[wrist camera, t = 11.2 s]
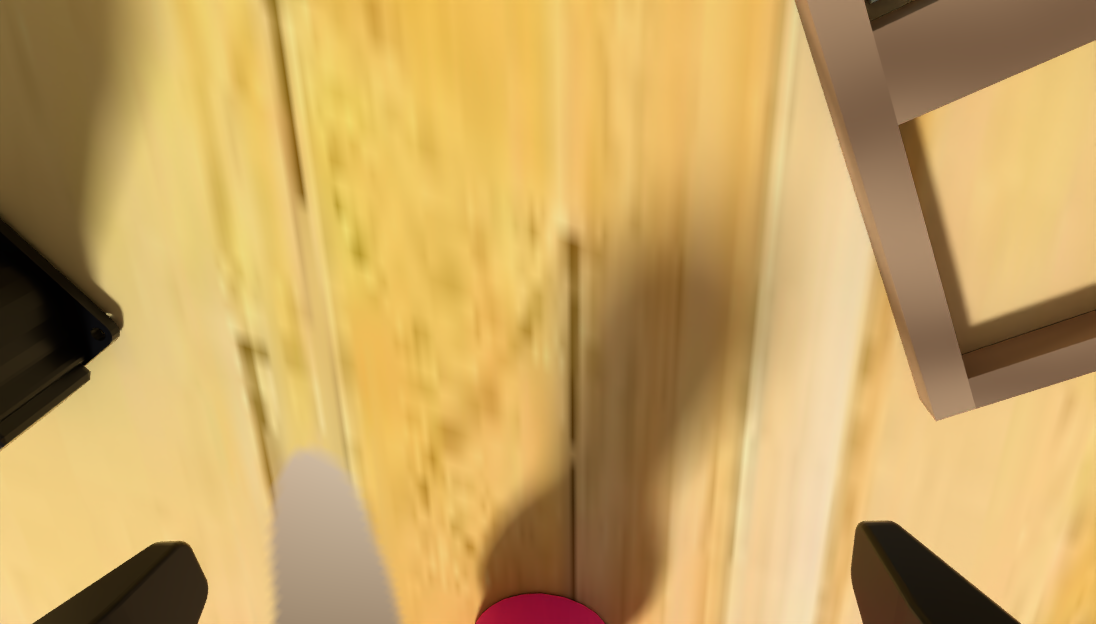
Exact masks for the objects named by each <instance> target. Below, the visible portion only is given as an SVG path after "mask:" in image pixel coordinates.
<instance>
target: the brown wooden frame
mask: <svg viewBox="0 0 1096 624" xmlns="http://www.w3.org/2000/svg"><path fill="white" fill-rule="evenodd" d="M868 1H869V3H873V2H875V1H878V0H868ZM795 3H796V6H797V9H798V12H799V15H800V18H801V22H802V25H803V28H804V31H805V34H806V38H807V41H808V44H809V47H810V50H811V54H812V57H813V60H814V63H815V66H816V70H817V73H818V76H819V79H820V82H821V85H822V89H823V92H824V95H825V98H826V101H827V105H828V108H829V111H830V114H831V117H832V121H833V124H834V127H835V130H836V133H837V136H838V140H839V143H840V146H841V149H842V152H843V156H844V159H845V162H846V165H847V168H848V172H849V175H850V178H851V181H852V184H853V187H854V191H855V194H856V197H857V200H858V203H859V207H860V210H861V213H862V216H863V219H864V223H865V226H866V229H867V232H868V235H869V238H870V242H871V245H872V248H873V251H874V254H875V258H876V261H877V264H878V267H879V270H880V274H881V277H882V280H883V283H884V286H885V290H886V293H887V296H888V299H889V302H890V305H891V309H892V312H893V315H894V318H895V321H896V325H897V328H898V331H899V334H900V337H901V341H902V344H903V347H904V350H905V353H906V356H907V360H908V363H909V366H910V369H911V372H912V376H913V379H914V382H915V385H916V388H917V392H918V395H919V398H920V400H921V402H922V403H923V404H924V406H925V407H926V408H927V410H928V411H929V412H930V414H931V415H932V416H933V418H934V419H935V420H936V421H938V420H941V419H945V418H948V417H951V416H954V415H957V414H961V413H964V412H967V411H970V410H973V409H977V408H980V407H983V406H986V405H989V404H993V403H996V402H999V401H1002V400H1005V399H1009V398H1012V397H1015V396H1018V395H1021V394H1025V393H1028V392H1031V391H1034V390H1037V389H1041V388H1044V387H1047V386H1050V385H1053V384H1056V383H1060V382H1063V381H1066V380H1069V379H1072V378H1076V377H1079V376H1082V375H1085V374H1088V373H1092V372H1095V371H1096V310H1095V311H1092V312H1089V313H1086V314H1083V315H1080V316H1077V317H1074V318H1071V319H1068V320H1065V321H1062V322H1059V323H1056V324H1053V325H1050V326H1047V327H1044V328H1041V329H1038V330H1035V331H1032V332H1029V333H1026V334H1023V335H1020V336H1017V337H1014V338H1011V339H1008V340H1005V341H1002V342H999V343H996V344H993V345H990V346H987V347H984V348H981V349H978V350H975V351H972V352H969V353H966V354H963V355H961V352H960V349H959V345H958V341H957V338H956V334H955V330H954V327H953V323H952V319H951V316H950V312H949V308H948V305H947V301H946V298H945V294H944V290H943V287H942V283H941V279H940V276H939V272H938V268H937V265H936V261H935V257H934V254H933V250H932V246H931V243H930V239H929V236H928V232H927V228H926V225H925V221H924V217H923V214H922V210H921V206H920V203H919V199H918V195H917V192H916V188H915V184H914V181H913V177H912V174H911V170H910V166H909V163H908V159H907V155H906V152H905V148H904V144H903V141H902V137H901V133H900V130H899V126H898V125H900V124H902V123H905V122H907V121H909V120H912V119H914V118H916V117H919V116H921V115H923V114H925V113H928V112H930V111H932V110H935V109H937V108H939V107H942V106H944V105H946V104H949V103H951V102H953V101H956V100H958V99H960V98H963V97H965V96H967V95H969V94H972V93H974V92H976V91H979V90H981V89H983V88H986V87H988V86H990V85H993V84H995V83H997V82H1000V81H1002V80H1004V79H1006V78H1009V77H1011V76H1013V75H1016V74H1018V73H1020V72H1023V71H1025V70H1027V69H1030V68H1032V67H1034V66H1037V65H1039V64H1041V63H1044V62H1046V61H1048V60H1050V59H1053V58H1055V57H1057V56H1060V55H1062V54H1064V53H1067V52H1069V51H1071V50H1074V49H1076V48H1078V47H1081V46H1083V45H1085V44H1087V43H1090V42H1092V41H1094V40H1096V0H915V1H913V2H911V3H908V4H906V5H904V6H902V7H900V8H898V9H896V10H894V11H892V12H890V13H887V14H885V15H883V16H881V17H879V18H877V19H875V20H873V21H871V22H870V20H869V17H868V13H867V9H866V6H865V2H864V0H795Z"/></svg>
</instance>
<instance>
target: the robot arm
mask: <svg viewBox="0 0 1096 624" xmlns="http://www.w3.org/2000/svg"><path fill="white" fill-rule="evenodd" d="M99 329H101V330H102V331H103V332H104V333H105V334H103V333H101V331H100V330H99ZM119 336H120V330H119V328H118V326H117V325H116V323H115V322H114V321H113V320H112V319H111V318H109V317H108V316H107V315H106V314H105V313H104V312H103V311H102V310H101V309H100V308H98V307H97V306H96V305H95V304H94V303H93V302H92V301H91V300H90V299H89V298H87V297H86V296H85V295H84V294H83V293H82V292H81V291H80V290H79V289H77V288H76V287H75V286H74V285H73V284H72V283H71V282H70V281H69V280H68V279H66V278H65V277H64V276H63V275H62V274H61V273H60V272H59V271H58V270H57V269H55V268H54V267H53V266H52V265H51V264H50V263H49V262H48V261H47V260H45V259H44V258H43V257H42V256H41V255H40V254H39V253H38V252H37V251H36V250H34V249H33V248H32V247H31V246H30V245H29V244H28V243H27V242H26V241H25V240H23V239H22V238H21V237H20V236H19V235H18V234H17V233H16V232H15V231H13V230H12V229H11V228H10V227H9V226H8V225H7V224H6V223H5V222H4V221H2V220H1V219H0V451H1V450H2V449H4V448H5V447H6V446H8V445H9V444H10V443H11V442H13V441H14V440H15V439H16V438H18V437H19V436H20V435H22V434H23V433H24V432H25V431H27V430H28V429H29V428H31V427H32V426H33V425H34V424H36V423H37V422H38V421H40V420H41V419H42V418H43V417H45V416H46V415H47V414H48V413H50V412H51V411H52V410H54V409H55V408H56V407H57V406H58V405H60V404H61V403H62V402H63V401H64V400H66V399H67V398H68V397H69V396H71V395H72V394H73V393H74V392H75V391H77V390H78V389H79V388H80V387H81V386H83V385H84V384H85V383H86V382H88V381H89V380H90V371H89V370H88V369H87V368H86V367H85V366H86V365H87V364H88V363H89V362H91V361H92V360H93V359H94V358H95V357H97V356H98V355H99V354H100V353H101V352H102V351H104V350H105V349H106V348H107V347H108V346H110V345H111V344H112V343H113V342H114V341H116V340H117V339H118V337H119ZM851 579H852V585H853V589H854V593H855V597H856V600H857V604H858V607H859V611H860V614H861V618H862V622H863V624H1021V623H1020V622H1018V621H1017V620H1016V619H1015V618H1013V617H1012V616H1011V615H1010V614H1009V613H1007V612H1006V611H1005V610H1004V609H1002V608H1001V607H1000V606H999V605H997V604H996V603H995V602H994V601H992V600H991V599H990V598H989V597H987V596H986V595H985V594H984V593H983V592H981V591H980V590H979V589H978V588H976V587H975V586H974V585H973V584H971V583H970V582H969V581H968V580H966V579H965V578H964V577H963V576H961V575H960V574H959V573H958V572H957V571H955V570H954V569H953V568H952V567H950V566H949V565H948V564H947V563H945V562H944V561H943V560H942V559H940V558H939V557H938V556H937V555H935V554H934V553H933V552H932V551H931V550H929V549H928V548H927V547H926V546H924V545H923V544H922V543H921V542H919V541H918V540H917V539H916V538H914V537H913V536H912V535H911V534H909V533H908V532H907V531H906V530H904V529H903V528H902V527H901V526H900V525H898V524H897V523H895V522H892V521H863V522H860V523H859V524H858V525H857V527H856V530H855V538H854V546H853V555H852V563H851ZM207 595H208V583H207V579H206V577H205V575H204V573H203V571H202V569H201V567H200V565H199V563H198V561H197V559H196V556H195V554H194V552H193V550H192V548H191V547H190V545H188V544H187V543H186V542H183V541H167V542H157V543H154V544H152V545H150V546H149V547H147V548H146V549H144V550H143V551H141V552H140V553H138V554H137V555H135V556H134V557H132V558H131V559H129V560H128V561H126V562H125V563H123V564H122V565H120V566H119V567H117V568H116V569H114V570H113V571H111V572H110V573H108V574H107V575H105V576H104V577H102V578H101V579H99V580H98V581H96V582H94V583H93V584H91V585H90V586H88V587H87V588H85V589H84V590H82V591H81V592H79V593H78V594H76V595H75V596H73V597H72V598H70V599H69V600H67V601H66V602H64V603H63V604H61V605H60V606H58V607H57V608H55V609H54V610H52V611H51V612H49V613H48V614H46V615H45V616H43V617H42V618H40V619H39V620H37V621H36V622H34V623H33V624H198V621H199V619H200V616H201V613H202V611H203V608H204V605H205V603H206V600H207Z"/></svg>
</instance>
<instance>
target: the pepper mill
mask: <svg viewBox="0 0 1096 624" xmlns="http://www.w3.org/2000/svg"><path fill="white" fill-rule="evenodd" d="M475 624H605V623H604V622H603V620H602V619H601V618H600V617H599V616H598V615H597V614H596V613H595V612H593V611H592V610H590V609H589V608H587V607H586V606H584V605H583V604H580V603H578V602H575V601H573V600H570V599H568V598H565V597H560V596H554V595H548V594H543V593H538V594H521V595H518V596H514V597H510V598H506V599H503V600H501V601H499V602H498V603H496V604H494V605H492V606H491V607H490V608H488V609H487V610H486V611H485V612H484V613H483V614H482V615H481V616H480V617H479V619H478V620H477V622H476V623H475Z"/></svg>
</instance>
